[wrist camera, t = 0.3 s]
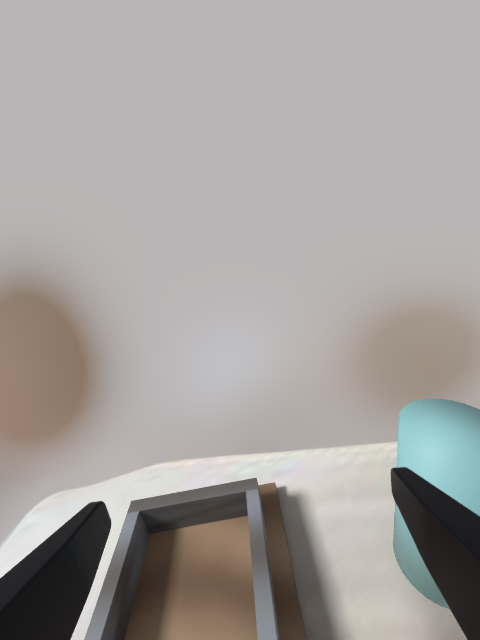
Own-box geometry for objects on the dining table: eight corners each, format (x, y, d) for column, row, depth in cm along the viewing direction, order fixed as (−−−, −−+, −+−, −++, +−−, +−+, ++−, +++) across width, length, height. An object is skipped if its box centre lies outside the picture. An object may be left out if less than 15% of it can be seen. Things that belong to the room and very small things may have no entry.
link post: (506, 602, 16) (554, 460, 11) (425, 616, 16) (444, 480, 12) (441, 515, 20) (459, 392, 16) (379, 527, 20) (380, 407, 16)
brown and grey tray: (335, 788, 12) (330, 760, 10) (35, 839, 12) (-11, 819, 10) (276, 489, 25) (270, 459, 23) (135, 515, 25) (120, 487, 23)
